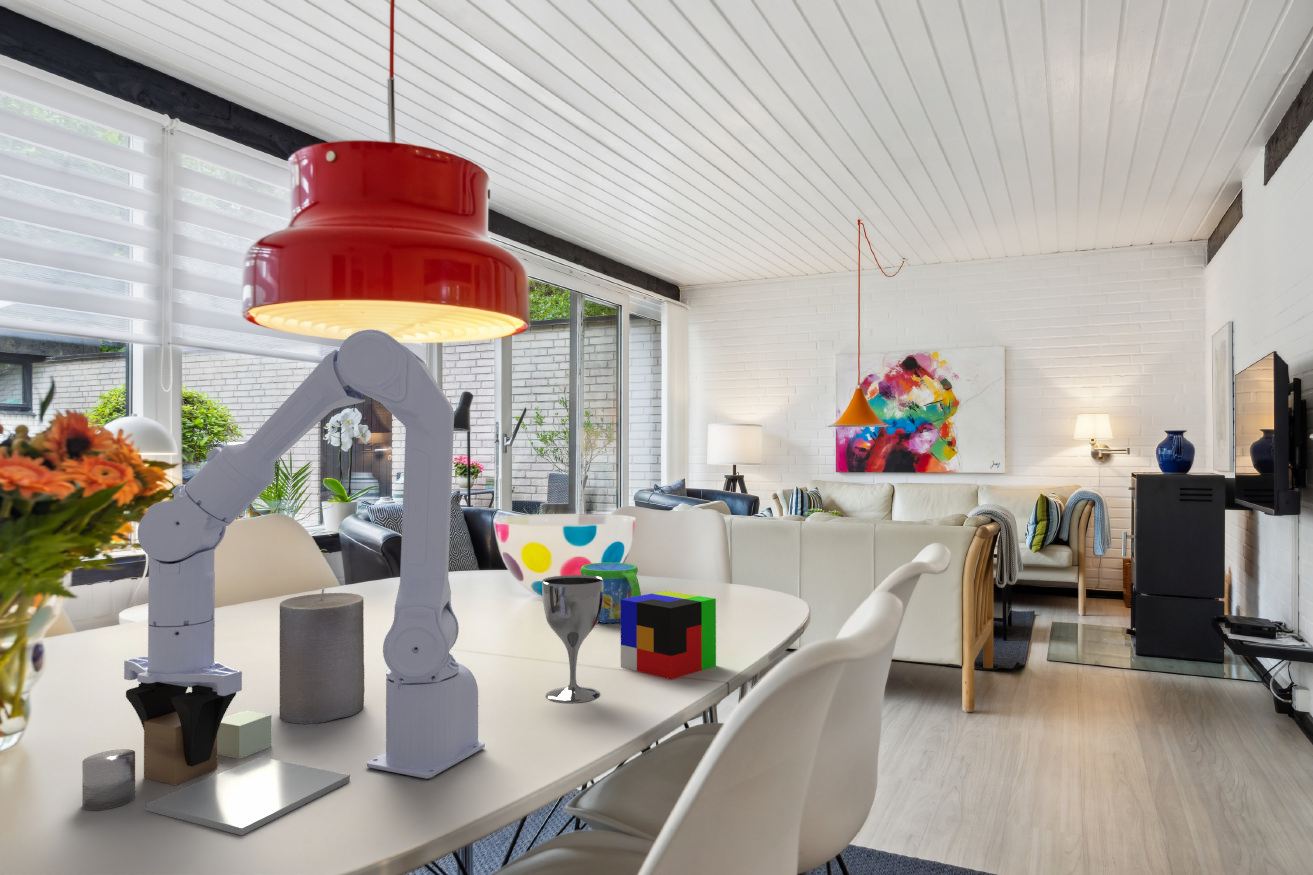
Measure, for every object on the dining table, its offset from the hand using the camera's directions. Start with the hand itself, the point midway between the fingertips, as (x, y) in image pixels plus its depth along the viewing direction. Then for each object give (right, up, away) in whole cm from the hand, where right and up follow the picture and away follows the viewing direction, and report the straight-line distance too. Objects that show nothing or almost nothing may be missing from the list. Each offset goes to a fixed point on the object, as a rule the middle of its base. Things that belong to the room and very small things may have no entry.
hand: (181, 758), depth 81 cm
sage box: (+3, -2, +6) cm, 7 cm away
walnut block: (0, -1, 0) cm, 1 cm away
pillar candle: (+6, -2, +19) cm, 20 cm away
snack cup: (+38, -3, +73) cm, 82 cm away
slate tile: (+10, -1, -5) cm, 11 cm away
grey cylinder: (-3, -1, -6) cm, 7 cm away
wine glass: (+36, -2, +26) cm, 44 cm away
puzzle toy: (+49, -2, +40) cm, 63 cm away
